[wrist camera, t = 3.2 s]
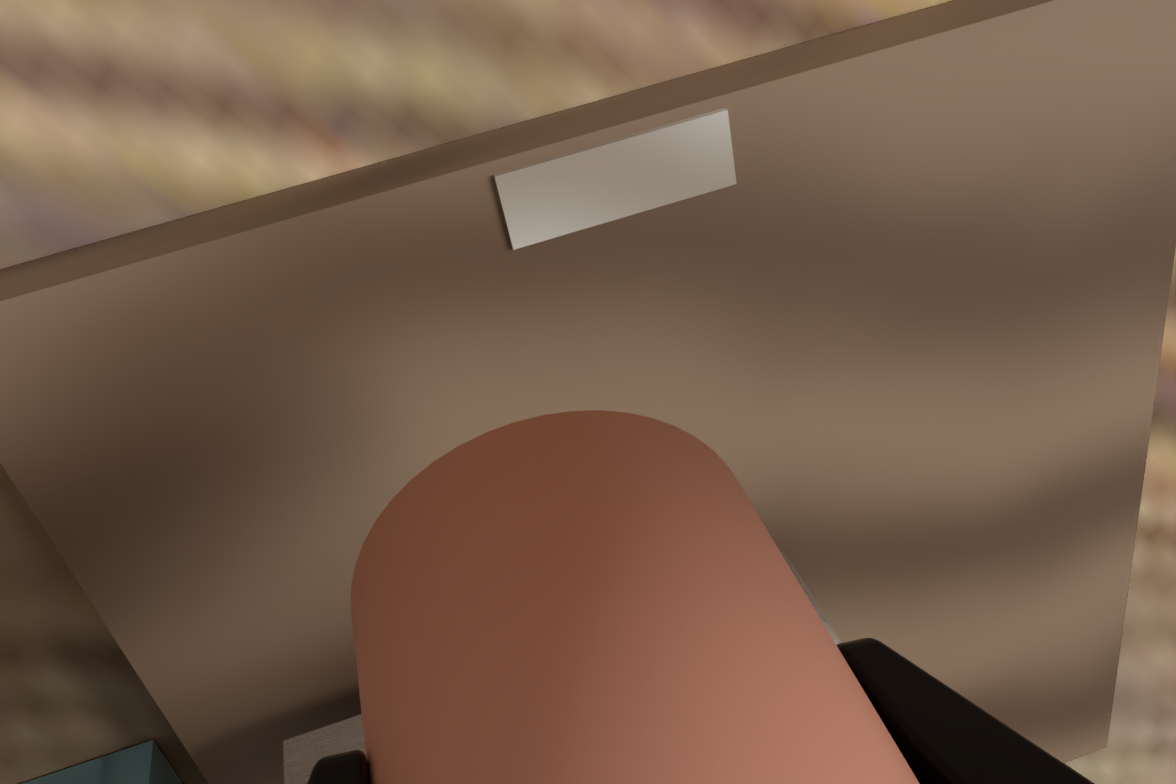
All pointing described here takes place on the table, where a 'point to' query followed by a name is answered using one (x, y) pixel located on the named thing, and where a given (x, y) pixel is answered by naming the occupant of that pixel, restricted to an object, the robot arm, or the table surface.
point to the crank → (350, 734)
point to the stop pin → (597, 623)
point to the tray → (118, 769)
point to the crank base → (649, 358)
